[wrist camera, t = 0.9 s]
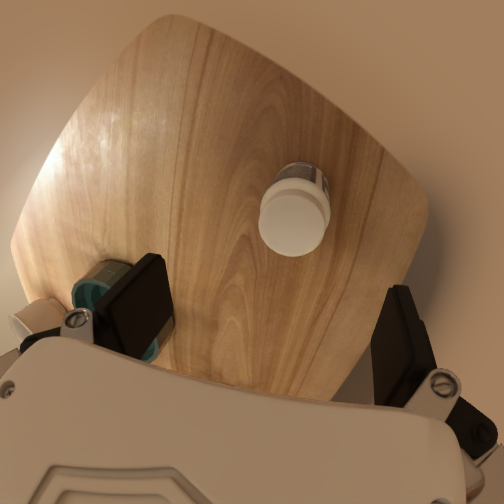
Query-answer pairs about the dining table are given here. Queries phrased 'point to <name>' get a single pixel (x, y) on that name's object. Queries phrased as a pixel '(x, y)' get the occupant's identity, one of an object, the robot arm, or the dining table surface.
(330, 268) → the dining table surface
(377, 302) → the dining table surface
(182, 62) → the dining table surface
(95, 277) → the bowl
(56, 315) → the teacup
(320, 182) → the pill bottle
